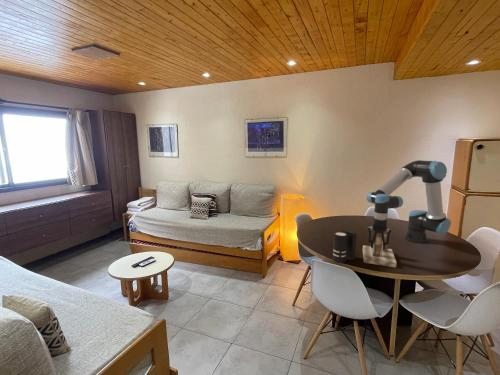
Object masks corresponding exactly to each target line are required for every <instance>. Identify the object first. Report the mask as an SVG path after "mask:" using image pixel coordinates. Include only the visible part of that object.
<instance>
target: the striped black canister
mask: <svg viewBox="0 0 500 375" xmlns="http://www.w3.org/2000/svg"><path fill="white" fill-rule="evenodd" d="M332 246H333V247H332V261H333V262H335V263H339V264H345V263H346V261H347V259H349V260H351V261H353V260H355V258H356V246H357V232H355V231H352V230H348V229H345V228H343V229H341V231H335V232H333V245H332Z"/></svg>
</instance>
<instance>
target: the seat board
mask: <svg viewBox="0 0 500 375" xmlns="http://www.w3.org/2000/svg"><path fill="white" fill-rule="evenodd" d="M386 238H387V233H384V239H385V242H386ZM382 244H383V242H382ZM372 249H373V248H371V245H362V257H363V258H362V260H363V263H365V264H372V265H379V266H384V267H389V268H390V267H391V268H397V260H396V257H395V255H394V252H393V249H392V248H389V244H388V245H385V249H384V250H383V252H382V255H381V251H380V257H376V256H374V254H372Z"/></svg>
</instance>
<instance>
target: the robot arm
mask: <svg viewBox="0 0 500 375" xmlns="http://www.w3.org/2000/svg"><path fill="white" fill-rule="evenodd" d="M447 172H448V168H447V166H446V164H445V163H443V161H436V160H419V159H418V160H414V161H411V162H408V163H407V164H405V165H403V166H402V167H401V168H399V171H398V172H397V173H396V174H395V175H394V176H392V177H391V178H390V179H389V180H388V181H387V182H385V183H384V184H382V186H380V188H378V189H377V190H376V191H369V192H368V193H367V194H366V200H367V202H368V203H370V204H374V214H373V223H372V226H368V227H367V230H368V235H367V236H368V238H367V241H368V243H370V246H371V248H373V249H372V254H374V246H375V244H374V242H375V237H376V236H377V234H381V235H380V236H382V242H383V244H382V246H381V255H382V252H383V250H384V249H385V245H388V246H389V245H390V244H389V243H390V236H391V232H392V229H391V228H388V227H387V223H388V214H389V212H388V211H389V209H399V208H401V207H402V206H403V204H404V200H403V197H401V196H399V195H391V194H392V193H393V192H394V191H396V190H397V189H398V188H399V187H401V186H402V185H403V184H405V182H406V181H408V180H411V179H412V178H414V177H415V178H417V177H419V178H421V180H422V183H424V184H425V185H424V186H425V194H426V205H427V211H426V210H417V209H416V210H411V211H410V212H409V213H408V214H409V215H408V225H407V230H406V231H405V233H404V235H403V236H404V239H405V240H407V241H409V242H412V243H418V244H426V243H428V236H427V231H429V232H433V233H435V234H441V235H444V234H446V233H447V232H448V231H449V230H450V228H451V225H452V221H451V219H449V218H447V214H446V213H445V212H444V209H443V207H444V206H443V196H442V185H441V182H443V181H444V179H445V178H446V177H447ZM372 230H373V232H374V233H373V235H372ZM384 232H386V234H387V238H386V242H385V239H384V234H385V233H384ZM371 235H372V236H371Z"/></svg>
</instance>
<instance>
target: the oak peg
mask: <svg viewBox="0 0 500 375" xmlns="http://www.w3.org/2000/svg"><path fill="white" fill-rule="evenodd" d="M374 244H375V246H374V256H376V257H380V251H381V246H382V235H376V237H375V240H374Z"/></svg>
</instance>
